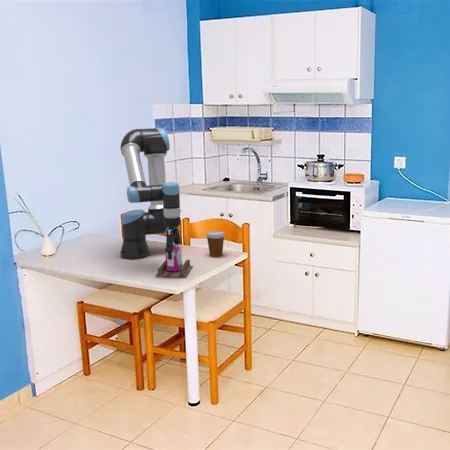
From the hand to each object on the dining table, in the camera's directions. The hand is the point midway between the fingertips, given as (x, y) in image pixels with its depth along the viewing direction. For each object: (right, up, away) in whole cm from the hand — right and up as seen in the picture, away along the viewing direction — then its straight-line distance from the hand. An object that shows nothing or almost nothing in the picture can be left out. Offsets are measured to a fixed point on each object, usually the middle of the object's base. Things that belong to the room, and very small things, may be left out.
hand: (174, 261), depth 261 cm
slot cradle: (0, -5, +1) cm, 5 cm away
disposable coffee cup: (+19, +1, +28) cm, 34 cm away
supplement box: (0, -4, +1) cm, 4 cm away
